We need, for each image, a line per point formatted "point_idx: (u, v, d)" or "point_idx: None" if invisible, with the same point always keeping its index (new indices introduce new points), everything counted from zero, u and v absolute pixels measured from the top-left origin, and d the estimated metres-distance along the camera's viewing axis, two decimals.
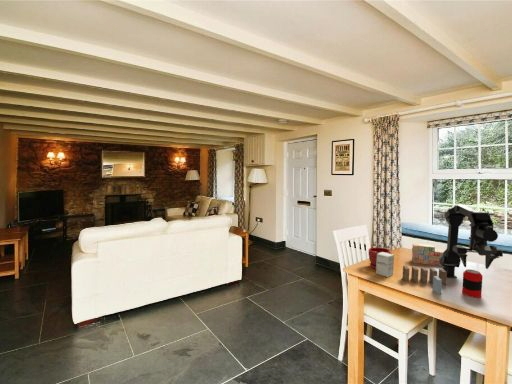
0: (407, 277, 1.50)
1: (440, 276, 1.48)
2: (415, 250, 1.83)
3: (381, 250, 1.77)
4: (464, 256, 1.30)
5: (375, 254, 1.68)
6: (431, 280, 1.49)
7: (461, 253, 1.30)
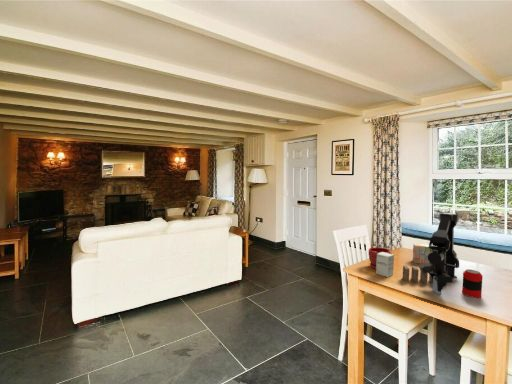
0: (407, 277, 1.50)
1: None
2: (416, 250, 1.82)
3: (381, 250, 1.77)
4: (430, 274, 1.41)
5: (375, 254, 1.68)
6: (431, 280, 1.49)
7: None
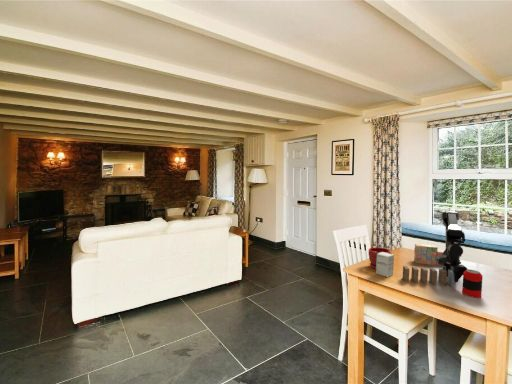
0: (407, 277, 1.50)
1: (440, 276, 1.48)
2: (418, 250, 1.82)
3: (381, 250, 1.77)
4: (443, 264, 1.53)
5: (375, 254, 1.68)
6: (431, 280, 1.49)
7: None
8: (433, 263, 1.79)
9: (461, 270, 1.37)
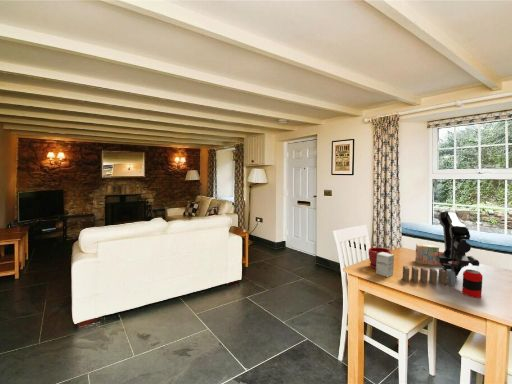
0: (407, 277, 1.50)
1: (440, 276, 1.48)
2: (419, 251, 1.82)
3: (381, 250, 1.77)
4: (455, 266, 1.44)
5: (375, 254, 1.68)
6: (431, 280, 1.49)
7: (443, 263, 1.45)
8: (434, 263, 1.79)
9: None
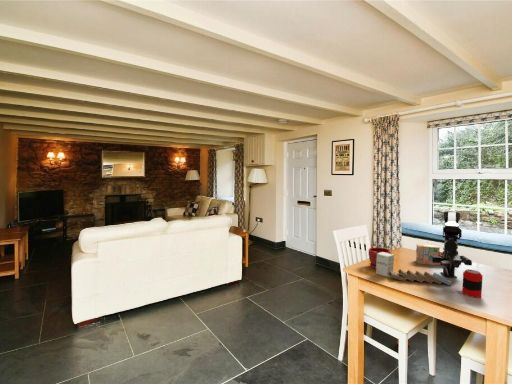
0: (401, 278, 1.51)
1: None
2: (420, 251, 1.82)
3: (381, 250, 1.77)
4: (447, 265, 1.45)
5: (375, 254, 1.68)
6: (427, 281, 1.49)
7: (435, 262, 1.46)
8: (435, 263, 1.79)
9: None
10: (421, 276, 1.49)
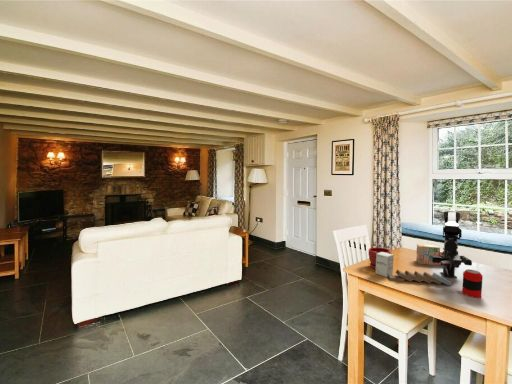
0: (399, 279, 1.51)
1: None
2: (420, 251, 1.81)
3: (381, 250, 1.77)
4: (447, 265, 1.45)
5: (375, 254, 1.68)
6: None
7: (435, 262, 1.46)
8: (435, 263, 1.79)
9: None
10: (420, 276, 1.49)
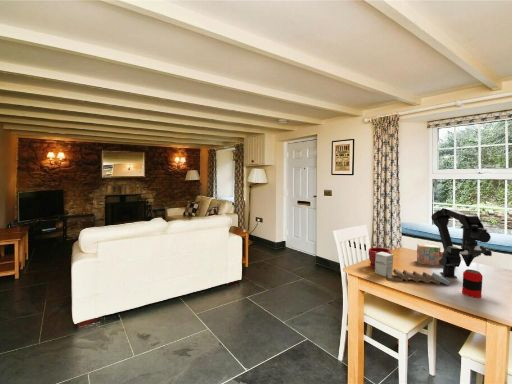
0: (398, 279, 1.51)
1: None
2: (420, 251, 1.81)
3: (381, 250, 1.77)
4: (466, 256, 1.43)
5: (375, 254, 1.68)
6: None
7: (454, 253, 1.43)
8: (436, 263, 1.79)
9: None
10: (418, 276, 1.49)
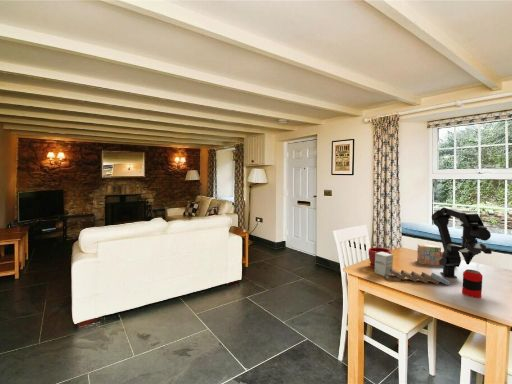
0: (396, 280, 1.51)
1: None
2: (421, 251, 1.81)
3: (381, 250, 1.77)
4: (466, 254, 1.43)
5: None
6: None
7: (454, 251, 1.43)
8: (436, 263, 1.79)
9: None
10: (416, 276, 1.49)
